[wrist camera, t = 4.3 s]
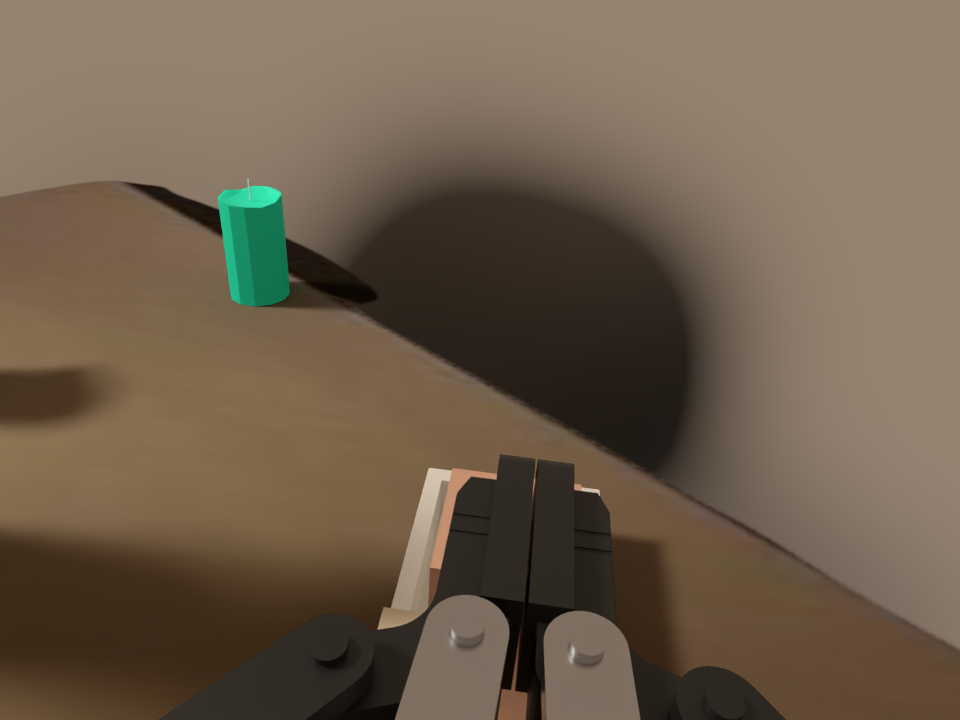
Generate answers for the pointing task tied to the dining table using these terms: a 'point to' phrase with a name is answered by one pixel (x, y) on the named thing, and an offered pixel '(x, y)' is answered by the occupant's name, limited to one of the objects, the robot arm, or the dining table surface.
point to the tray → (424, 544)
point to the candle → (255, 245)
